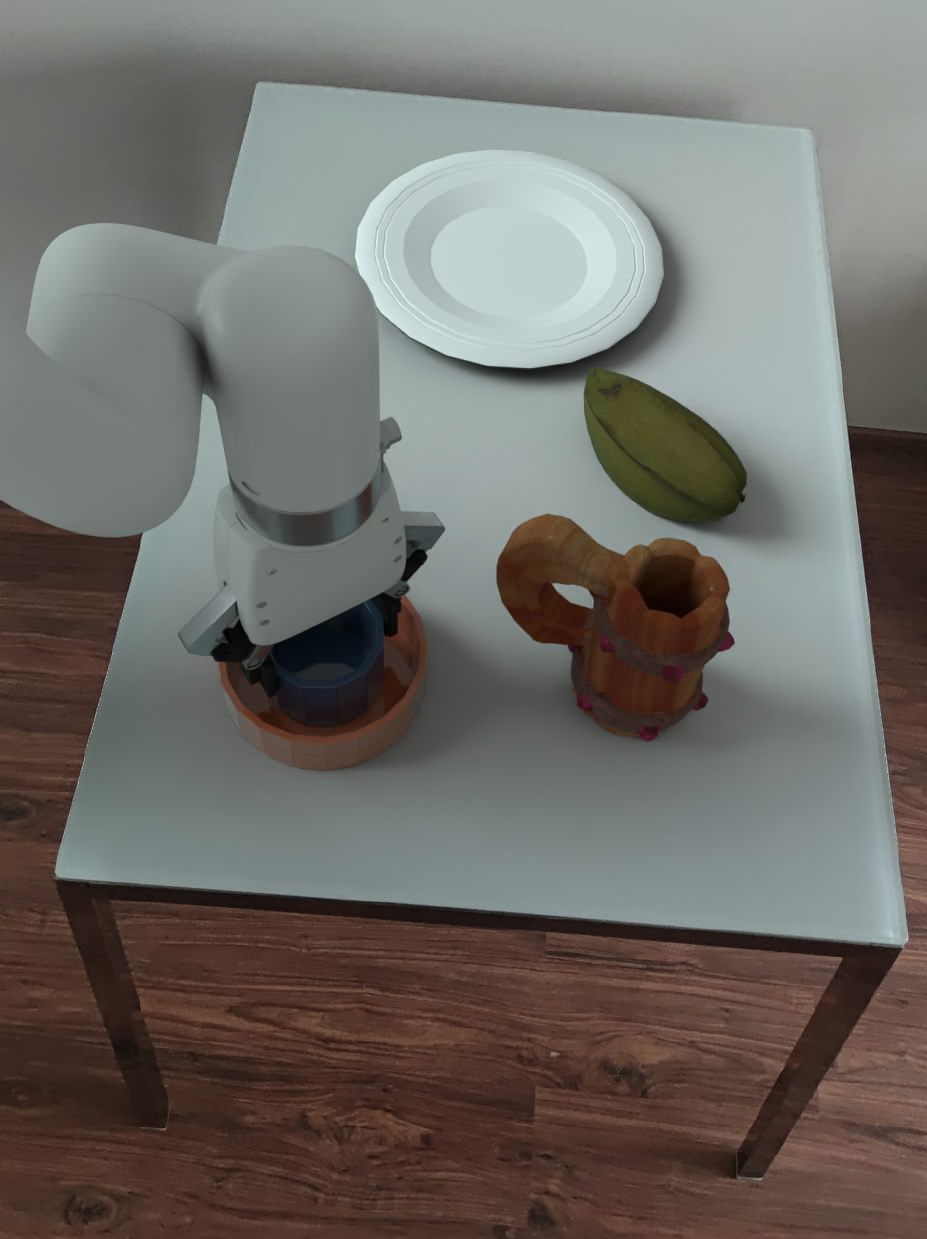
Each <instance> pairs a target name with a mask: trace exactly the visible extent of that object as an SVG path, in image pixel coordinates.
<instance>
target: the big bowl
mask: <svg viewBox="0 0 927 1239" xmlns="http://www.w3.org/2000/svg"><path fill="white" fill-rule="evenodd" d="M419 613H420V612H418V610H417V609H416V607H415V606H414V605H413V603H412V602H411V600H410V598H409V597H408V595H407V594H406V595H404V596H403V597H401V612H399V613H398V634H396V635H394V636H392V637H389V636H388V637H386V636H385V635H384V684H383V687H382V689H381V692H380V694H379V696H378V698H377V700H376V701H375V703H374V704H373V705H372V706H371V707H370V708H369V709H368V711H367V712H365V713H364V714H363V715H361V716H360V717H358V718H357V719H355V720H353V721H351V722H349V723H346V724H343V725H340V726H335V727H324V728H323V727H312V726H307V725H304V724H301V723H299V722H296V721H294V720H292V719H291V718H289V717H287V716H286V715H285V714H284V713H282V712H281V711H280V710H279V708H278V707H277V706H276V705H275V703H274V702H273V700H272V698H271V697H270V698H269V697H268V696H267V694H266V692H265V691H264V689H263V687H262V686H261V684H260V682H258V683H256V684H254V685H252V686H251V685H250V684H249V682H248V681H247V679H246V677H245V675H244V674H243V672H242V670H241V667H240V664H239V663H234V662H216V663H217V669H218V670H217V671H218V675H219V681H220V685H221V686H220V687H221V690H222V694H223V698H224V700H225V705H226V709H227V710H228V712H229V714H230V716H231V718H232V721H233V723H234V724H235V726H236V728H237V729H238V730H239V731H240V733H241V735H242V736H243V737H244V738H245V739H246V740H247V741H248V742H249V743H250V744H251V745H252V746H253V747H255V748H256V749H257V750H258V751H259V752H260V753H263V754H264V755H265V756H267V757H269V758H271V759H272V760H275V761H277V762H279V763H281V764H284V765H287V766H291V767H293V768H298V769H304V770H311V771H312V770H313V771H331V770H332V771H333V770H340V769H345V768H351V767H355V766H356V765H359V764H363V763H365V762H367V761H369V760H372V759H374V758H376V757H378V756H379V755H381V754H382V753H384V752H385V751H387V750H388V749H390V748H391V747H392V746H393V745H394V744H396V743H397V742H398V741H399V740H400V739H401V738H402V737H403V736H404V735H405V734H406V733H407V731H408V730H409V728H410V727H411V725H412V724H413V723H414V721H415V719H416V717H417V716H418V713H419V712H420V709H421V706H422V703H423V700H424V697H425V690H426V678H427V670H428V669H427V667H428V649H429V644H428V639H427V635H426V631H425V627H424V624H423V619H422V617H421V615H420V614H419Z"/></svg>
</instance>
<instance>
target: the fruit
mask: <svg viewBox="0 0 927 1239" xmlns="http://www.w3.org/2000/svg"><path fill="white" fill-rule="evenodd" d="M583 414H584V417H585V419H584V420H585V424H586V429H587V433H588V436H589V439H590V443H591V446H592V448H593V450H594V453H595V456H596V458H597V461H598V462H599V464H600V465H601V468H603V470H604V472H605V473H606V475H607V476H608V477H609V478H610V480H611V481H612V482H613V483H614V485H616V487H617V488H618V489H619V490H620V491H621V492H622V493H623V494H624V495H625V496H626V497H628V499H631V501H633V502H634V503H636V504H637V505H639V507H641V508H643V509H644V510H646V511H648V512H649V513H651V514H654V515H655V516H658V517H661V518H665V519H669V520H673V521H679V522H684V523H685V522H688V523H689V522H690V523H702V522H703V523H704V522H705V523H707V522H716V521H719V520H721V519H724V518H726V517H728V516H730V515H732V514H734V513H736V512H737V510H738V507H739V504H740V503H741V504H744V503H745V501H746V497H747V496H746V494H745V493H743V492H744V490H745V488H746V487H747V482H748V479H747V478H748V473H747V471H746V468H745V467H744V465H743V462H742V461H741V460H740V458H739V456H738V455H737V453H736V451H735V450H734V449H733V448H732V446H731V445H730V444H729V443H728V441H727V440H726V438H725V437H724V436H723V435H722V434H721V433H720V432H719V431H718V430H717V429H716V428H714V427H713V426H712V425H711V424H710V423H709V422H708V421H706V420H705V419H704V418H702V417H701V416H700V415H698V414H697V413H695V412H693V411H692V410H691V409H689V408H688V407H686V406H685V405H683V404H682V403H680V402H679V401H677V400H676V399H674V398H672V397H671V396H669V395H667V394H666V393H663V392H662V391H660V390H658V389H657V388H655V387H653V386H652V385H650V384H648V383H646V382H644V381H642V380H639V379H637V378H634V377H632V376H629V375H626V374H622V373H618V372H615V371H610V370H607V369H603V368H600V367H598V366H597V367H595V366H594V367H592V368H591V370H590V372H589V373H588V375H587V376H586V379H585V382H584V389H583Z"/></svg>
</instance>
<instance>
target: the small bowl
mask: <svg viewBox="0 0 927 1239" xmlns="http://www.w3.org/2000/svg"><path fill="white" fill-rule="evenodd" d="M269 655H270V656H271V658H272V660H273V662H274V664H275V670H276V675H277V681H278V687H279V691H277V694H276V695H274V696H272V697H271V698H272V700H273V702H274V703H275V705H276V706H277V707H278V708H279V710H280V711H281V712H282V713H284V714H285V715H286V716H287V717H289V718H291V719H292V720H294V721H296V722H299V723H301V724H304V725H307V726H312V727H323V728H324V727H335V726H340V725H343V724H346V723H349V722H351V721H353V720H355V719H357V718H358V717H360V716H361V715H363V714H364V713H365V712H367V711H368V709H369V708H370V707H371V706H372V705H373V704H374V703H375V701H376V700H377V698H378V696H379V694H380V692H381V689H382V687H383V684H384V619H383V617H382V616H381V614H380V613H379V611H378V610H377V608H376V607H375V605H374V604H373V602H372V601H371V599H368V600H366V601H364V602H362V603H360V604H358V605H356V606H354V607H352V608H350V609H348V610H346V611H344V612H342V613H340V614H338V615H336V616H334V617H332V618H330V619H328V620H326V621H324V622H322V623H319V624H317V625H315V626H313V627H311V628H309V629H307V630H305V631H303V632H301V633H298V634H296V635H294V636H292V637H290V638H288V639H285V640H283V641H280V642H278V643H275V644H274V646H273V648H272V649H271V651H270V653H269Z"/></svg>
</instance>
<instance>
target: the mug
mask: <svg viewBox="0 0 927 1239" xmlns="http://www.w3.org/2000/svg"><path fill="white" fill-rule="evenodd" d="M495 569H496V571H495V572H496V574H495V575H496V576H495V577H496V586H497V591H498V593H499V597H500V601H501V603H502V605H503V606H504V608H505V609H506V611H507V612H508V614H509V615H510V616H511V618H512V620H513V621H514V622H515V623H516V624H517V625H518V626H519V627H520V629H522V630H523V631H524V632H525V634H526V635H528V636H529V637H530V638H531V639H532V641H533V642H537V643H540V644H547V645H548V644H549V645H550V644H551V645H552V644H553V645H561V646H567V649H568V652H569V653H571V654H572V655H571V662H570V680H571V690H572V693H573V695H574V698H575V705H576V707H577V708H578V709H579V710H580V711H582V712H583V713H584V714H585V715H586V716H587V717H589V718H590V719H591V720H593V721H594V722H595V723H596V725H599V726H600V728H602V729H604V730H606V731H608V732H609V733H612V734H614V735H616V736H619V737H620V736H621V737H625V738H633V737H638V736H639V738H640V739H641V741H643V742H646V743H648V742H654V741H655V740H656V739H657V738H658V737H659V734H660V733H662V732H664V731H667V730H669V729H671V728H672V727H674V726H676V725H678V723H680V722H682V721H683V720H684V719H685V718H686V717H687V716H688V715H689V714H690V713H691V712H692V711H701V710H703V709H705V708H706V707H707V705H708V701H709V697H708V696H707V695H706V694H705V692H704V691H703V683H704V673H703V670H704V668H705V665H707V664H708V663H709V662H710V661H711V660H713V659H714V658H715V657H716V655H717V654H718V653H723V652H726V651H728V650H731V648H732V647H733V646H734V645H735V644H736V642H735V639H734V636H733V635H732V632H730V631H729V628H730V622H731V619H730V611H729V607H728V604H727V599H728V596H729V593H730V591H731V587H730V582H729V578H728V576H727V573H726V572H725V570H724V569H723V567H722V566H721V564H720V563H719V562H718V560H717V559H715V557H713V556H707V555H703V554H701V553H700V551H699V549H698V548H697V546H696V545H695V544H693V543H691V542H688V541H687V540H685V539H678V538H673V537H660V538H655V539H654V540H653V541H652V542H651V543H650V544H649V545H645V544H642V543H639V544H635V545H634V546H632V547H631V548H630V549H629V550H628V551H626V553H625V554H622V553H619V552H616V551H614V550H612V549H609V548H607V547H606V546H604V545H603V544H600V543H599V542H598V541H597V540H596V539H594V538H593V537H592V536H591V535H590V534H589V533H587V531H586V530H584V528H582V527H581V526H580V525H578V523H576V522H575V521H573V520H572V518H569V517H566V516H564V515H560V514H559V515H558V514H552V513H551V514H550V513H544V514H542V515H538V516H534V517H531V518H530V519H528V520H525V521H524V522H522V523H520V524H519V525H517V527H516V528H515V529H514V530H513V531H512V532H511V533H510V536H509V538H508V540H507V542H506V544H505V546H504V547H503V549H502V551H501V553H500V554H499V556H498V559H497V562H496V568H495ZM553 584H560V585H563V586H571V585H572V586H578V587H582V588H584V589H586V590H587V591H588V593H589V594H590V596H591V598H592V599H593V604H592V608H591V607H588V606H584V605H581V604H576V603H573V602H571V601H570V600H568V599H567V598H566V597H565V596H563V595H562V594H561V593H560V592H559V591H558V590H557V589H556V588H555V586H554V585H553Z"/></svg>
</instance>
